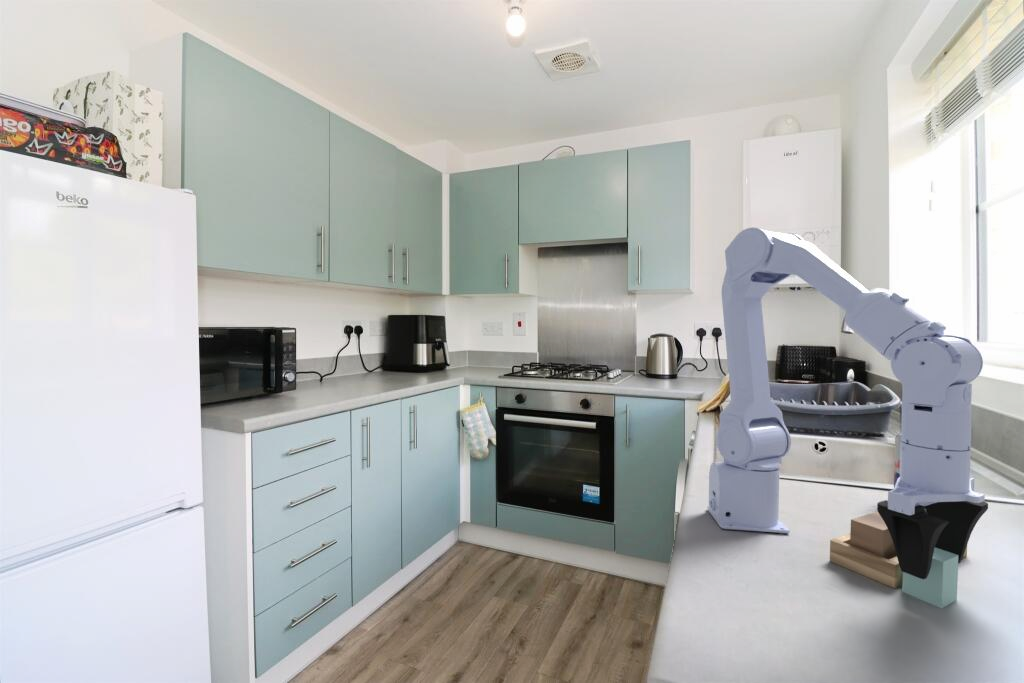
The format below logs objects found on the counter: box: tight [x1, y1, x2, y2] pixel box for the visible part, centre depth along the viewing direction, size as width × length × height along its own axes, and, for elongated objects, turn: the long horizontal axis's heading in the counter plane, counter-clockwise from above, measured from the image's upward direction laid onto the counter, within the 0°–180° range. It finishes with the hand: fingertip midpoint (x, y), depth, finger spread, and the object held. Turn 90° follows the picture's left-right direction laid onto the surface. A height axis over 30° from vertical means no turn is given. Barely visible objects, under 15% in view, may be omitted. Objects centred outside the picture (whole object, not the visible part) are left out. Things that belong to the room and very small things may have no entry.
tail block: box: [901, 548, 959, 609], centre depth 52 cm, size 4×4×5 cm
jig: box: [829, 533, 968, 589], centre depth 60 cm, size 18×7×3 cm, turn 117°
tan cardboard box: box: [849, 511, 897, 560], centre depth 58 cm, size 7×4×4 cm, turn 117°
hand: (931, 566), depth 52 cm, fingers open, 7 cm apart
